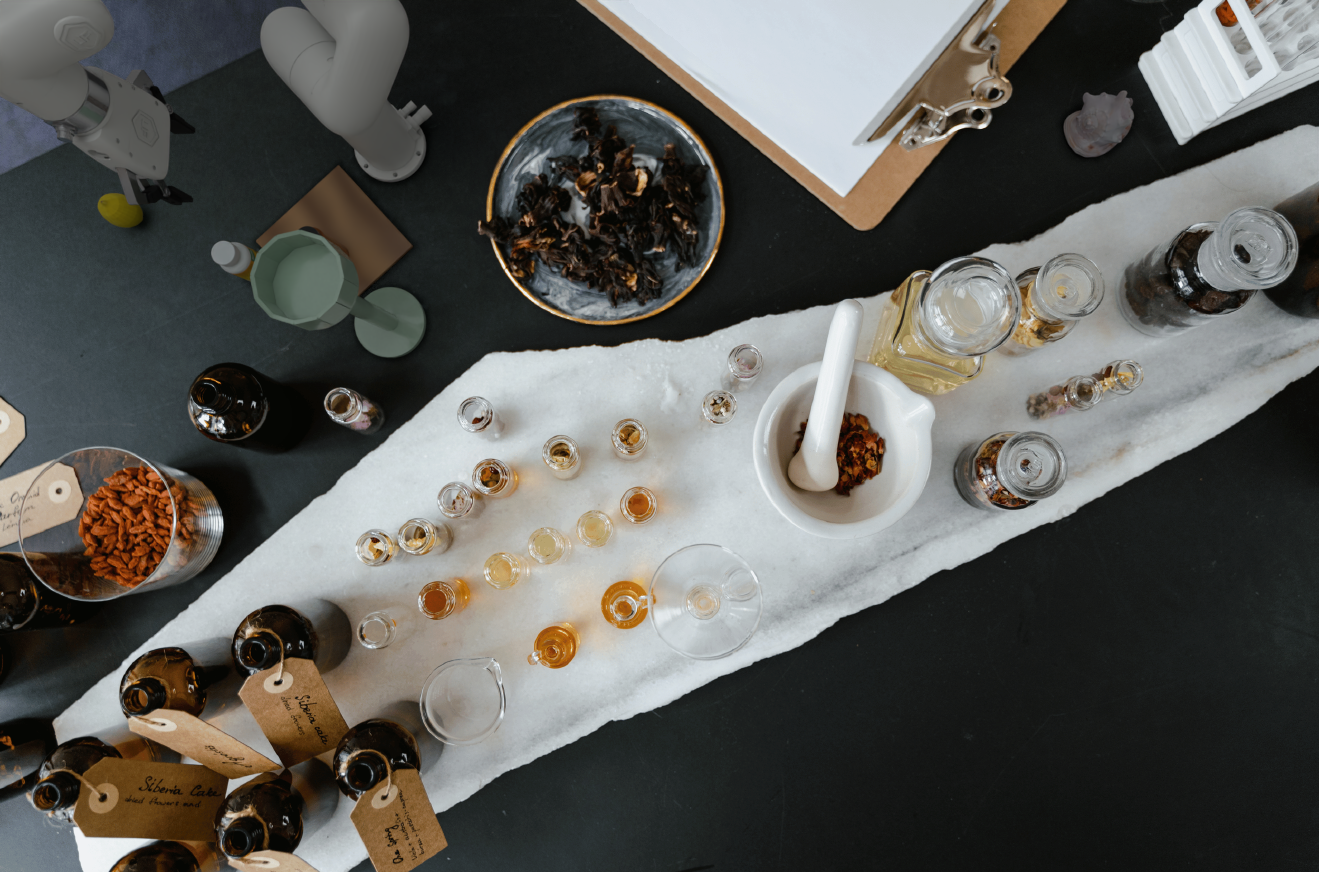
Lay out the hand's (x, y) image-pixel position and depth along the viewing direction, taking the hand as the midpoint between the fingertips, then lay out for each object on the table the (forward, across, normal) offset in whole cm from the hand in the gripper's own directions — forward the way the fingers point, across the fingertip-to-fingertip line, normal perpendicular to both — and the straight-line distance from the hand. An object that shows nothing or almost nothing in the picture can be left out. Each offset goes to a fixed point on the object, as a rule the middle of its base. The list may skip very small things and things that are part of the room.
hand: (184, 165), depth 92 cm
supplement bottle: (+27, -6, +6) cm, 28 cm away
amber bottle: (+26, -4, -8) cm, 28 cm away
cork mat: (+27, -2, -7) cm, 28 cm away
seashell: (+27, +18, -140) cm, 144 cm away
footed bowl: (+27, -16, -18) cm, 36 cm away
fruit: (+27, +3, +29) cm, 40 cm away
